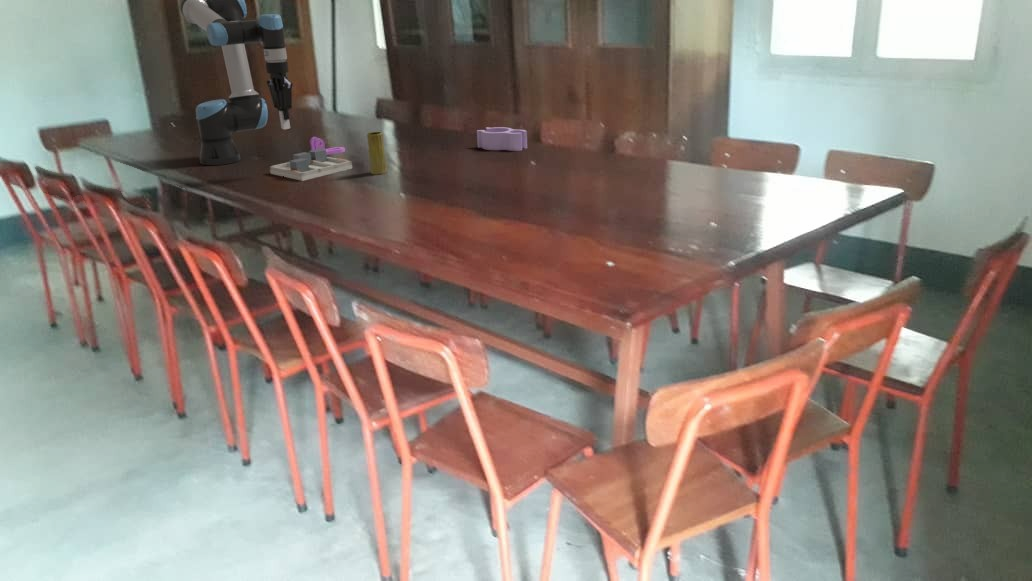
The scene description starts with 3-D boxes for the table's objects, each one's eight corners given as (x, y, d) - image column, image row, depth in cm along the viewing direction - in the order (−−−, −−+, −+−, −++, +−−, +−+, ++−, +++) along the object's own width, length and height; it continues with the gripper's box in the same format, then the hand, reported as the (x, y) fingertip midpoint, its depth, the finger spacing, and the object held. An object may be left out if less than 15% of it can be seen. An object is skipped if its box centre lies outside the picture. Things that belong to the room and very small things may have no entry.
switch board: (270, 173, 294) (269, 165, 293) (320, 162, 309) (319, 154, 308) (302, 180, 281) (301, 172, 280) (352, 168, 297) (351, 160, 295)
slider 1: (294, 165, 297) (292, 154, 296) (305, 162, 301) (304, 152, 299) (300, 166, 295) (299, 155, 293) (311, 163, 298) (310, 153, 297)
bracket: (317, 156, 319) (314, 139, 317) (311, 154, 324) (309, 137, 321) (347, 151, 326) (345, 134, 323) (341, 149, 330) (339, 132, 328)
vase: (371, 175, 285) (366, 135, 280) (369, 171, 291) (365, 132, 285) (388, 173, 287) (384, 133, 281) (386, 170, 292) (382, 130, 287)
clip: (532, 146, 321) (531, 129, 319) (516, 152, 312) (515, 135, 309) (490, 143, 331) (490, 126, 329) (473, 148, 321) (472, 131, 319)
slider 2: (291, 171, 287) (289, 160, 286) (302, 169, 291) (301, 158, 289) (297, 173, 285) (295, 162, 283) (309, 170, 288) (307, 159, 287)
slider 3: (310, 161, 302) (308, 151, 301) (320, 159, 305) (319, 148, 304) (316, 162, 300) (314, 152, 298) (327, 160, 303) (325, 149, 301)
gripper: (256, 61, 281) (266, 128, 289) (277, 63, 272) (287, 132, 281) (275, 59, 286) (284, 125, 295) (296, 60, 277) (305, 128, 286)
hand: (286, 128), depth 288 cm, fingers closed
